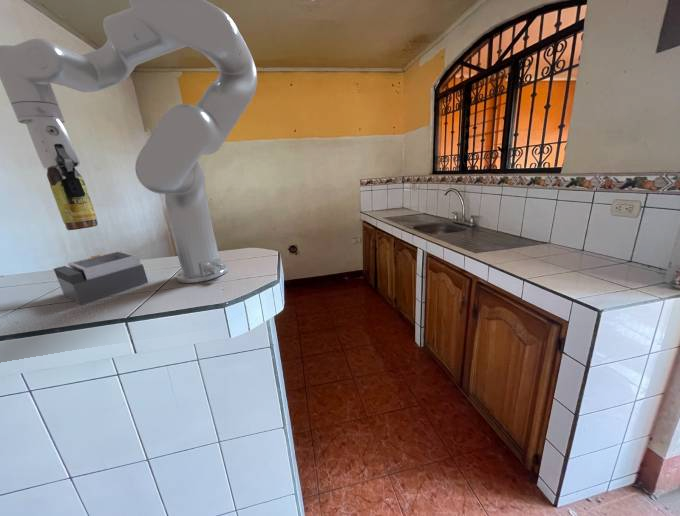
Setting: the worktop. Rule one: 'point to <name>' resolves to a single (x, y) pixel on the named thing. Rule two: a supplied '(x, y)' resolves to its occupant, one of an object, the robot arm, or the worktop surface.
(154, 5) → the robot arm
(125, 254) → the grey stepped tray box
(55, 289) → the worktop surface
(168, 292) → the worktop surface
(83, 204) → the sauce bottle
